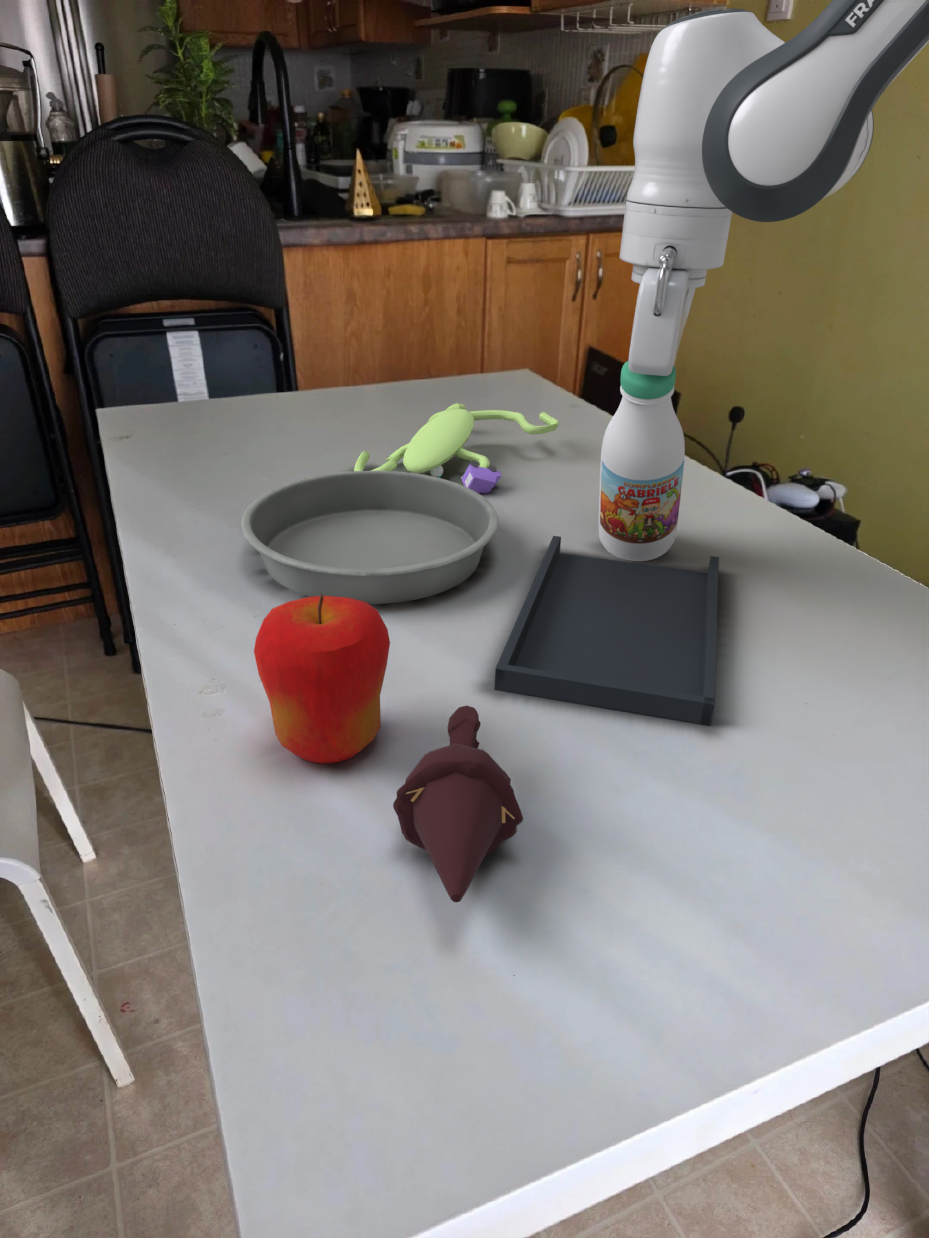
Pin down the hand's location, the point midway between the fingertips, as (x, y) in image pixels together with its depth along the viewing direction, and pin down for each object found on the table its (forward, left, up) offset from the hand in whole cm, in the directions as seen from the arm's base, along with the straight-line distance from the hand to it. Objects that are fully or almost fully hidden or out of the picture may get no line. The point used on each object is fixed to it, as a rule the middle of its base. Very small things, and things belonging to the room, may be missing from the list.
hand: (650, 401), depth 82 cm
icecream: (-10, +45, -16) cm, 48 cm away
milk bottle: (0, -1, -14) cm, 14 cm away
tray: (-6, +15, -15) cm, 22 cm away
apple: (+3, +42, -16) cm, 45 cm away
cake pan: (+20, +17, -16) cm, 30 cm away
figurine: (+29, -11, -16) cm, 35 cm away
